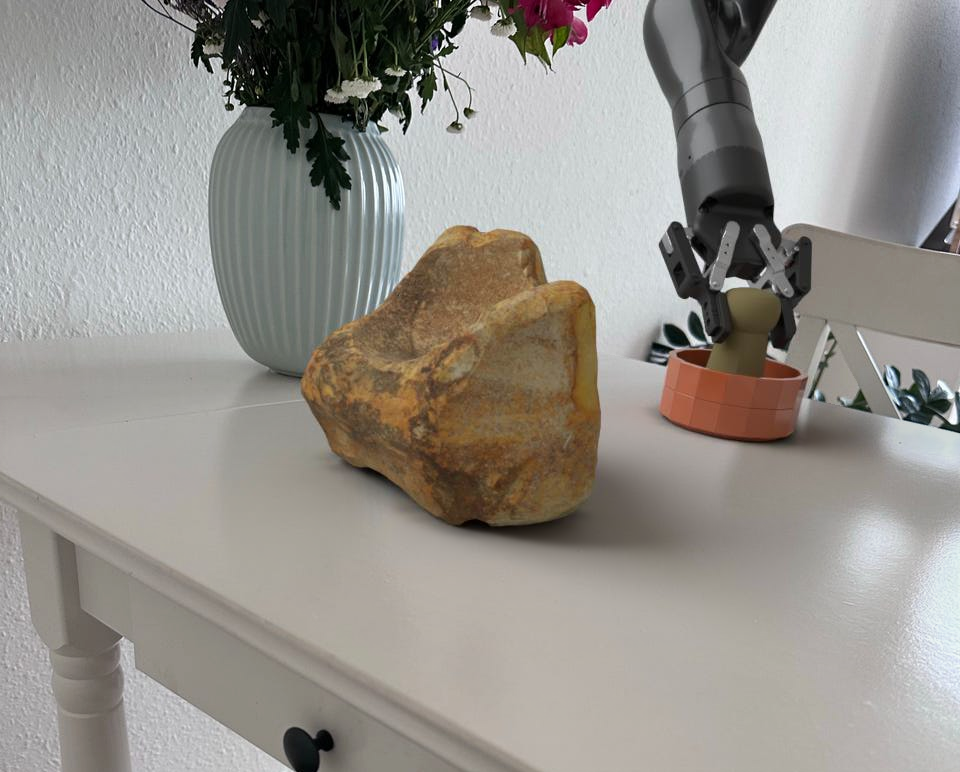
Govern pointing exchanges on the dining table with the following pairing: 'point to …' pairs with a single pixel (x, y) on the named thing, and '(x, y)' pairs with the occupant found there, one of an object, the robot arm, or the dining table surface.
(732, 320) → the cork
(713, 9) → the robot arm
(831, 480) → the dining table surface
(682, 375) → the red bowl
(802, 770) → the dining table surface
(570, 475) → the rough brown rock
